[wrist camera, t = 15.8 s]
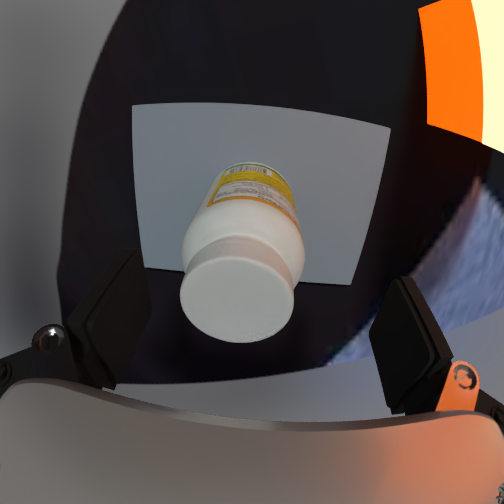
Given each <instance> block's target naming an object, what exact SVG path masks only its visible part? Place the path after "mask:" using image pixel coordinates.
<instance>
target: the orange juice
mask: <svg viewBox="0 0 504 504" xmlns="http://www.w3.org/2000/svg"><path fill="white" fill-rule="evenodd" d="M418 10H419V15H420V21H421V27H422V34H423V42H424V51H425V62H426V76H427V124H430V125H433V126H437V127H440V128H443V129H446V130H449V131H452V132H455V133H458V134H461V135H464V136H466V137H469V138H472V139H474V140H477V141H479V142H482V144H485V145H487V146H489V147H492V148H494V149H496V150H499V151H501V152H503V153H504V0H441V1H439V2H436V3H433V4H430V5H428V6H425V7H423V8H420V9H418Z"/></svg>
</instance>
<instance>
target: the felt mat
mask: <svg viewBox="0 0 504 504" xmlns="http://www.w3.org/2000/svg"><path fill="white" fill-rule="evenodd" d="M390 130H391V129H390V128H387V127H383V126H379V125H375V124H371V123H367V122H363V121H358V120H354V119H349V118H344V117H339V116H334V115H328V114H322V113H316V112H310V111H303V110H296V109H288V108H280V107H270V106H259V105H246V104H228V103H163V104H145V105H134V106H132V136H133V163H134V180H135V193H136V204H137V214H138V223H139V232H140V239H141V247H142V254H143V261H144V267H149V268H159V269H168V270H177V271H184V269H183V266H182V260H181V247H182V241H183V238H184V235H185V232H186V230H187V228H188V226H189V224H190V223H191V221H192V219H193V217H194V215H195V213H196V212H197V210H198V208H199V206H200V204H201V203H202V201H203V199H204V197H205V195H206V194H207V192H208V190H209V188H210V186H211V185H212V183H213V181H214V180H215V179H216V177H217V176H218V175H219V174H220V173H221V172H222V171H224V170H225V169H227V168H228V167H230V166H233V165H235V164H238V163H244V162H256V163H261V164H264V165H267V166H269V167H271V168H273V169H275V170H276V171H277V172H279V173H280V174H281V175H282V176H283V177H284V179H285V180H286V181H287V183H288V184H289V186H290V189H291V192H292V195H293V199H294V204H295V208H296V212H297V216H298V221H299V224H300V229H301V233H302V238H303V243H304V249H305V263H304V269H303V272H302V275H301V277H300V280H299V281H301V282H314V283H329V284H344V285H350V284H351V281H352V278H353V275H354V272H355V269H356V266H357V263H358V260H359V257H360V254H361V250H362V247H363V244H364V240H365V237H366V233H367V230H368V226H369V223H370V219H371V216H372V212H373V208H374V204H375V200H376V196H377V192H378V188H379V184H380V179H381V175H382V170H383V166H384V161H385V156H386V151H387V146H388V141H389V135H390Z"/></svg>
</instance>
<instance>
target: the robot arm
mask: <svg viewBox="0 0 504 504" xmlns="http://www.w3.org/2000/svg"><path fill="white" fill-rule="evenodd" d="M151 312H152V307H151V302H150V297H149V291H148V286H147V280H146V274H145V268H144V261H143V256H142V254H141V253H139V252H138V250H137V249H132V248H121V249H120V251H119V252H118V253H117V254H116V256H115V257H114V258H113V259H112V260H111V262H110V263H109V264H108V265H107V267H106V268H105V269H104V271H103V272H102V273H101V274H100V276H99V277H98V278H97V280H96V281H95V282H94V284H93V285H92V286H91V288H90V289H89V290H88V292H87V293H86V294H85V296H84V297H83V298H82V300H81V301H80V303H79V304H78V305H77V307H76V308H75V310H74V311H73V312H72V314H71V315H70V317H69V318H68V320H67V323H66V325H65V326H64V327H63V326H62V325H59V324H48V325H45V326H43V327H41V328H40V329H39V330H37V332H36V333H35V334H34V336H33V338H32V341H31V347H30V348H27V349H25V350H22V351H19V352H17V353H14V354H12V355H9V356H7V357H4V358H2V359H0V504H504V405H503V404H501V403H500V402H498V401H497V400H495V399H494V398H492V397H491V396H489V395H488V394H487V393H485V392H484V391H482V390H481V389H479V386H480V379H479V375H478V373H477V372H476V370H475V369H474V368H473V367H472V366H471V365H470V364H468V363H466V362H464V361H457V362H455V363H453V364H452V362H451V359H452V358H453V357H454V356H453V354H452V352H451V350H450V348H449V346H448V343H447V341H446V339H445V337H444V335H443V333H442V331H441V329H440V327H439V325H438V323H437V321H436V319H435V317H434V315H433V314H432V312H431V310H430V308H429V306H428V304H427V303H426V301H425V299H424V297H423V295H422V294H421V292H420V290H419V288H418V287H417V285H416V283H415V282H414V280H413V279H412V278H411V277H404V276H398V277H397V278H396V279H394V280H392V282H391V284H390V286H389V288H388V291H387V293H386V295H385V298H384V300H383V302H382V304H381V307H380V309H379V311H378V313H377V315H376V317H375V319H374V322H373V324H372V326H371V328H370V330H369V339H370V342H371V346H372V349H373V353H374V356H375V360H376V364H377V367H378V371H379V375H380V379H381V383H382V387H383V392H384V396H385V400H386V404H387V406H388V407H389V408H390V409H391V414H392V415H394V414H401V413H404V412H405V416H399V417H391V418H382V419H372V420H360V421H343V422H282V421H264V420H251V419H241V418H232V417H224V416H216V415H208V414H203V413H196V412H190V411H185V410H180V409H175V408H170V407H165V406H161V405H156V404H152V403H148V402H144V401H140V400H136V399H132V398H128V397H124V396H120V395H117V394H113V393H110V392H107V391H103V390H102V387H105V388H108V389H111V390H114V389H115V387H116V385H117V383H118V384H120V383H121V382H122V380H123V377H124V375H125V373H126V370H127V368H128V365H129V363H130V361H131V359H132V356H133V354H134V352H135V349H136V347H137V345H138V343H139V340H140V338H141V336H142V334H143V331H144V329H145V327H146V325H147V323H148V321H149V318H150V316H151Z"/></svg>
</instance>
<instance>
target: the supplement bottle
mask: <svg viewBox="0 0 504 504" xmlns="http://www.w3.org/2000/svg"><path fill="white" fill-rule="evenodd" d="M181 260H182V266H183V269H184V272H185V276H184V279H183V282H182V285H181V290H180V301H181V305H182V308H183V311H184V313H185V314H186V316H187V317H188V319H189V320H190V321H191V322H192V324H194V325H195V326H196V327H197V328H198V329H200V330H201V331H203V332H204V333H206V334H208V335H210V336H212V337H215V338H217V339H220V340H224V341H228V342H235V343H247V342H254V341H259V340H263V339H265V338H268V337H270V336H272V335H274V334H275V333H277V332H278V331H279V330H281V329H282V328H283V327H284V326H285V324H286V323H287V322H288V320H289V318H290V316H291V314H292V310H293V306H294V294H293V289H294V288H295V286H296V285H297V283H298V281H299V280H300V277H301V275H302V272H303V269H304V263H305V249H304V243H303V238H302V233H301V229H300V224H299V221H298V216H297V212H296V208H295V204H294V199H293V195H292V192H291V189H290V186H289V184H288V183H287V181H286V180H285V179H284V177H283V176H282V175H281V174H280V173H279V172H277V171H276V170H275V169H273V168H271V167H269V166H267V165H264V164H261V163H256V162H244V163H238V164H235V165H233V166H230V167H228V168H227V169H225V170H224V171H222V172H221V173H220V174H219V175H218V176H217V177H216V179H215V180H214V181H213V183H212V185H211V186H210V188H209V190H208V192H207V194H206V195H205V197H204V199H203V201H202V203H201V204H200V206H199V208H198V210H197V212H196V213H195V215H194V217H193V219H192V221H191V223H190V224H189V226H188V228H187V230H186V232H185V235H184V238H183V241H182V247H181Z"/></svg>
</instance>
